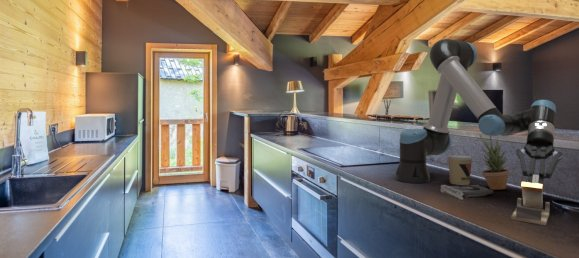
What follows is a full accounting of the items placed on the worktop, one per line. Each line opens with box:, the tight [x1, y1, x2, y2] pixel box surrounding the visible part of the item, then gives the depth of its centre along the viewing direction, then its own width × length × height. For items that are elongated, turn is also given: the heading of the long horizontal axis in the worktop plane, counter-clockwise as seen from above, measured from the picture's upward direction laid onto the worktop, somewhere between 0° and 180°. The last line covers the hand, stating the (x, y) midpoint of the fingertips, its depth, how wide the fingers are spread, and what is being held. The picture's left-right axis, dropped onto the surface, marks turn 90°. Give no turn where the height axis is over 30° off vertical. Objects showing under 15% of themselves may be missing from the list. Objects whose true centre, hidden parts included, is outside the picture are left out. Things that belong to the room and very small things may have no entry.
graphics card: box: [440, 184, 494, 201], centre depth 132 cm, size 17×4×12 cm
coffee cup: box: [447, 154, 473, 186], centre depth 151 cm, size 9×9×12 cm
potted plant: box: [478, 133, 510, 191], centre depth 141 cm, size 10×10×25 cm
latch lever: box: [520, 181, 544, 210], centre depth 108 cm, size 2×5×11 cm
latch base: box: [510, 197, 551, 226], centre depth 106 cm, size 14×8×4 cm, turn 139°
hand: (534, 194), depth 108 cm, fingers closed
